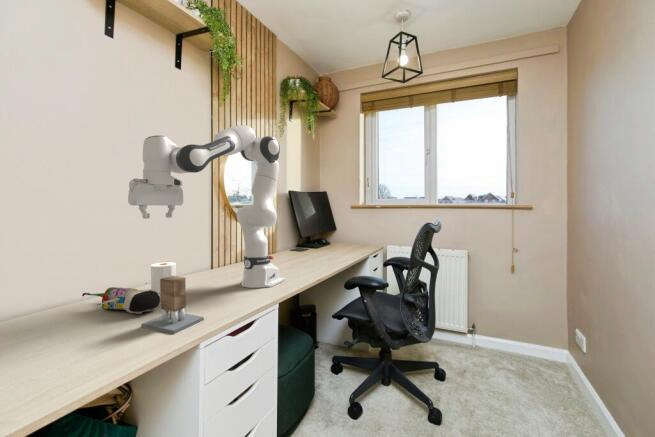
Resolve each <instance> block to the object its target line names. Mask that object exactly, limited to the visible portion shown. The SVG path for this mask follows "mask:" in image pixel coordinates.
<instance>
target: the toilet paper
mask: <svg viewBox="0 0 655 437" xmlns="http://www.w3.org/2000/svg"><path fill="white" fill-rule="evenodd" d="M169 276H177V263H176V262H174V261H173V262H172V261H168V262H167V261H166V262H155V263H152V264H151V265H150V287H151V288H150V290H152V291H155V292H157V293H158V294H160V279H161V278H165V277H169Z"/></svg>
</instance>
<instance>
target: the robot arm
mask: <svg viewBox="0 0 655 437" xmlns="http://www.w3.org/2000/svg"><path fill="white" fill-rule="evenodd" d="M280 151H281V147H280V143H279V141H278V139H277V138H276V137H273V136H268V135H267V136H256V134H255V131H254V129H253V128H252V127H251V126H249V125H247V124H242V125H235V126H231V127H228V128H225V129H222V130H220V131H219V132H218V133H216V134H215V136H214V139H213V141H210V142H208V143H205V144H193V143H192V144H187V145H184V146H182V147H181V146H180V145H177V144H176V143H174V142H173V141H172V140H170V138H169V137H168V136H166V135H151V136H148V137H146V138H145V139H144V140H143V145H142V161H143V169H142V178H133V179H130V181H129V183H128V185H129V186H128V187H129V188H128V189H129V190H128V194H127V195H128V197H127V202H128V204H129V205H130V206H138V210H139V211H140V213H141V214H142V219H145V220H146V219H147V220H148V219H150V218H151V214H150V213H149V212H148V211H147V210H146V209H148V206H167V209H168V210H167V212H165V218H167V219H169V218H170V219H171V218H172V217H173V213H174V211H175V208H176V206H182V205H183V204H184V191H183V187H182V186H183V181H182V180H180V179H178V178H176V177H175V176H173V175H171V172H172V173H176V174H179V175H180V174H188V173H192V174H195V173H200V172H202V171H203V170H204V169H205V168H206V167H207V166H208V165H209V164H210V162H212V161H213V160H216V159H218V158H220V157H222V156H232V155H236V154H239V153H240V155H241V156H242V158H243V159H244V160H246V161H249V162H257V170H256V171H255V175H254V179H253V181H252V182H253V183H252V187H251V190H250V191H251V194H252V195H253V204H252V205H251V204H248V205H244V206H242V207H240V208H239V209H238V210H237V212H236V220H237V222H238V223H239V225H240V229H241V231H242V235H243V239H244V240H243V241H244V255H243V264H244V267H243V274H242V275H243V276H242V279H241V280H242V281H241V286H242V287H245V288H248V289H249V288H250V289H257V288H258V289H259V288H272V287H273V286H276V285H278V284H280V283H282V282H285V280H286V279H285V277H283V276H281V271H280V269H279V267H278V266H276V265H275V264H274V263H272V262H271V260H274V258H275V257H274V255H271V254H270V255H269V254H268V253H269V246H268V244H269V241H268V237H267V236H266V235H265V233H264V229H268V228H271V227H273V226H274V225H275V224H276V223H277V221H278V213H277V211H276V209H275V206H274V198H275V191H276V188H277V184H278V180H279V174H280V164H279V161H278V159H279V155H280V153H281V152H280Z"/></svg>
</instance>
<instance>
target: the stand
mask: <svg viewBox="0 0 655 437" xmlns="http://www.w3.org/2000/svg"><path fill="white" fill-rule="evenodd" d="M204 320H205V316H200V315H196V314H195V315H194V314H191V313H190V314H188V313H185V308H183V309H180V310H178V311H175V312H173V311H168V310H162V309H161V315H160V316H158V317H156V318H152V319H149V320H147V321H144V322H142V323H141V325H140V327H141V328H144V329H148V330H149V329H150V330H155V331H157V332H158V331H159V332H163V333H168V334H172V335H173V334H174V335H175V334H177V333H179V332H181V331H184V330H185V329H187V328H190V327H192V326H194V325H196V324H198V323H200V322H202V321H204Z"/></svg>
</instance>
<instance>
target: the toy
mask: <svg viewBox="0 0 655 437" xmlns="http://www.w3.org/2000/svg"><path fill="white" fill-rule="evenodd" d="M81 296H82V297H85V296H95V297H101V302H100V303H96V304H95V305H96V306H102V309H103V310H106V311H107V310H125V311H126V312H127V313H129V314H136V315H140V314H142V313H143V312H147V313H149V312H152V311H153V310H155V309H156V308H158V307H159V305H161V297H160V295H159V293H157V292H155V291H152V290H151V289H141V290H138V288H132V287H129V288H128V287H115V286H114V287H113V286H112V287H108V288H107V289H106V290H105V292H102V293H101V292H100V293H90V292H83V293H82V295H81Z"/></svg>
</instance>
